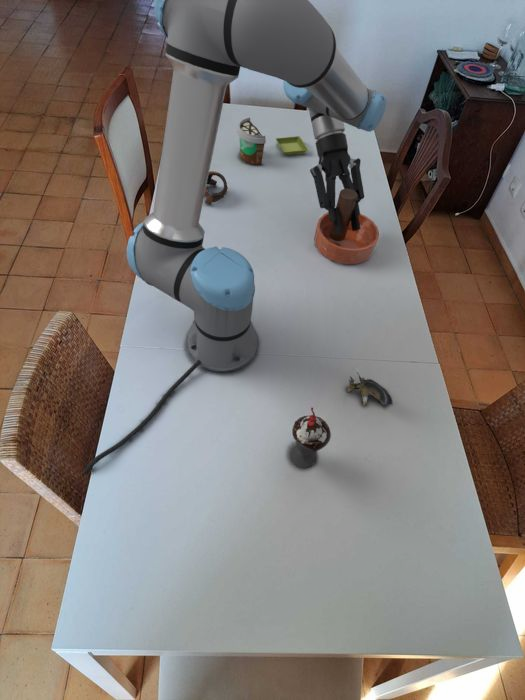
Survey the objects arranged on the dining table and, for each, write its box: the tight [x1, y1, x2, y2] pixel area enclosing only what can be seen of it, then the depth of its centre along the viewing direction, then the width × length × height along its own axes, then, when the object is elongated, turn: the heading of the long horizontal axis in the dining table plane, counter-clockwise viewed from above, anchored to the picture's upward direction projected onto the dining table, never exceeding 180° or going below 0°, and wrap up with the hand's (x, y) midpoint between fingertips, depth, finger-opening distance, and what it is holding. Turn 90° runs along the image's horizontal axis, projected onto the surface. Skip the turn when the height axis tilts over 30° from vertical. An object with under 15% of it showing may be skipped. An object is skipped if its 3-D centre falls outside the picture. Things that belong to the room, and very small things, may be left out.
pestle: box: [329, 188, 358, 241], centre depth 117 cm, size 4×4×13 cm
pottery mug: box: [204, 170, 229, 206], centre depth 130 cm, size 12×10×8 cm
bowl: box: [313, 212, 380, 265], centre depth 122 cm, size 16×16×6 cm
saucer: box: [275, 135, 309, 156], centre depth 150 cm, size 9×9×2 cm
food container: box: [236, 117, 267, 166], centre depth 141 cm, size 12×6×10 cm, turn 25°
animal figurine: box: [347, 368, 393, 406], centre depth 93 cm, size 8×7×9 cm
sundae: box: [289, 406, 332, 469], centre depth 81 cm, size 7×7×15 cm
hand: (348, 231), depth 116 cm, fingers closed on pestle, 4 cm apart
